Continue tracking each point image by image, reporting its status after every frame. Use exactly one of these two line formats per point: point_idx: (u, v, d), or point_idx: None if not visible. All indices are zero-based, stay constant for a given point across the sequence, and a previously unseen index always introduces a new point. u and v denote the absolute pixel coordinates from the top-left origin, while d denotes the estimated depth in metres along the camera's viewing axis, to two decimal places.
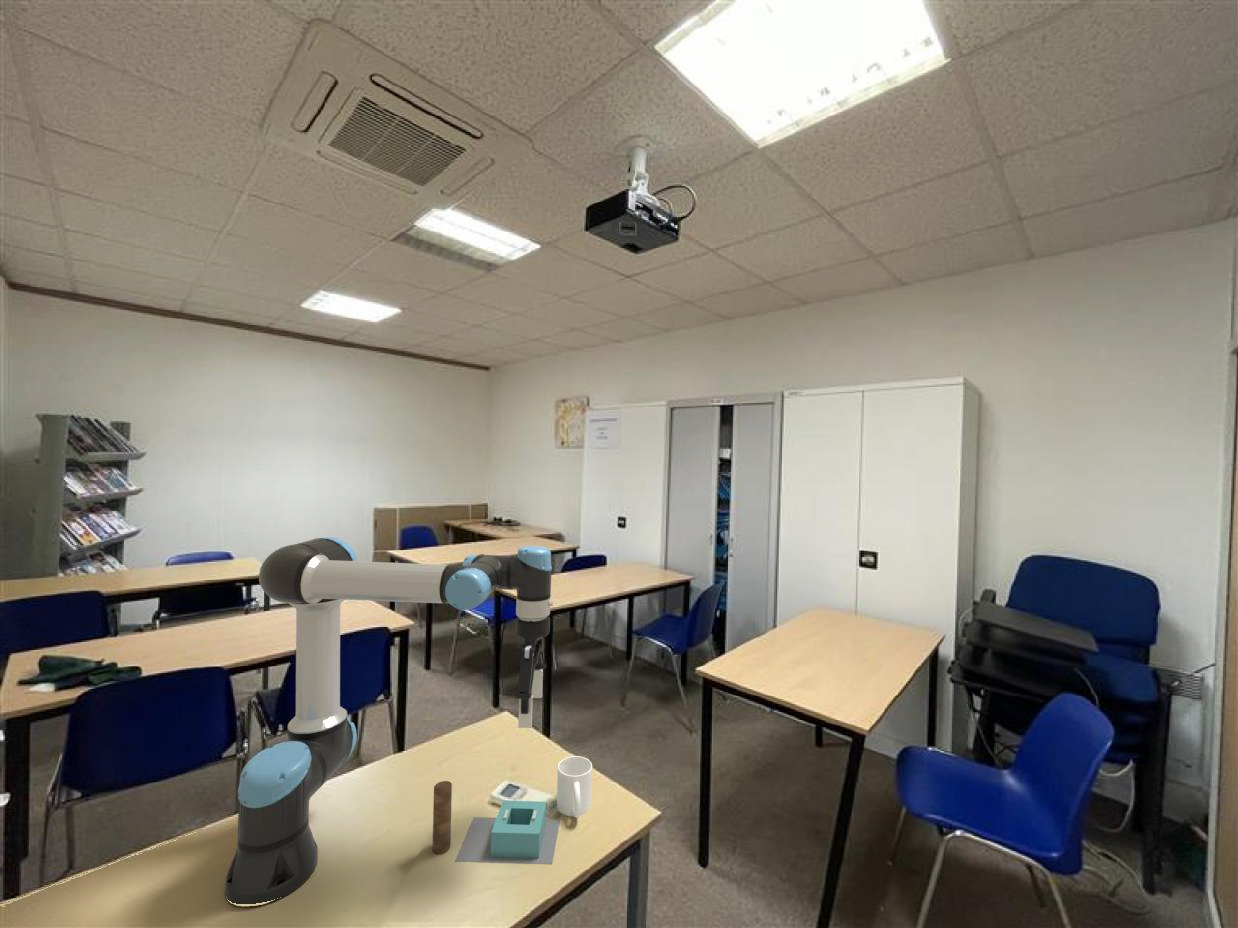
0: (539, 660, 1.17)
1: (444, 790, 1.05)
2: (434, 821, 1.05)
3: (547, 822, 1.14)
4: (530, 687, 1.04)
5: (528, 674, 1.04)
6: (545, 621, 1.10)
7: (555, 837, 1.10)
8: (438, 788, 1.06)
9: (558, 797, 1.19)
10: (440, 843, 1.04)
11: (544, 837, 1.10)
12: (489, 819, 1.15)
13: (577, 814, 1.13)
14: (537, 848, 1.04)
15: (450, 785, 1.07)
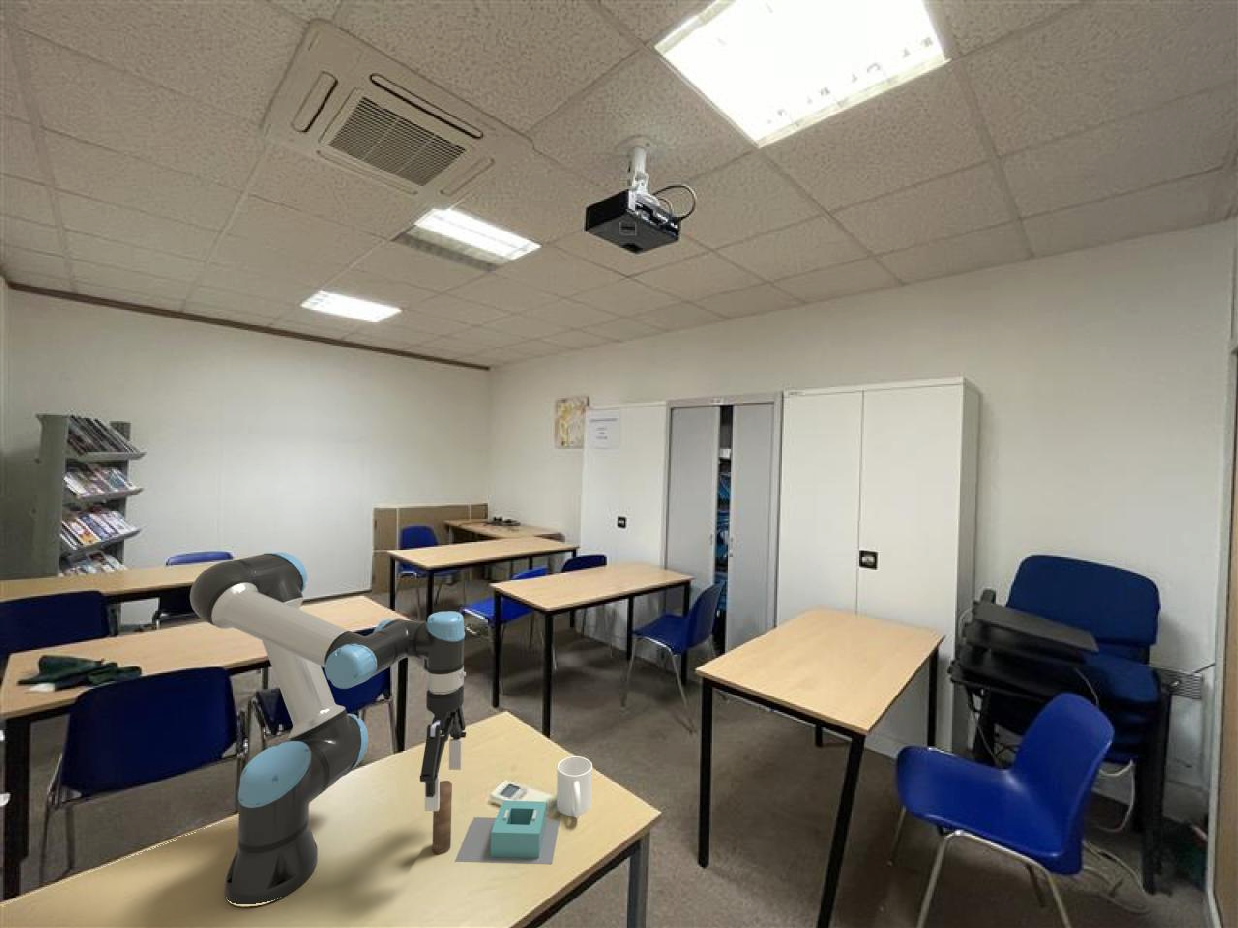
0: (456, 730, 1.11)
1: (444, 790, 1.05)
2: (434, 821, 1.05)
3: (547, 822, 1.14)
4: (435, 768, 0.98)
5: (433, 754, 0.98)
6: (456, 693, 1.05)
7: (555, 837, 1.10)
8: None
9: (558, 797, 1.19)
10: (440, 843, 1.04)
11: (544, 837, 1.10)
12: (489, 819, 1.15)
13: (577, 814, 1.13)
14: (537, 848, 1.04)
15: (450, 785, 1.07)
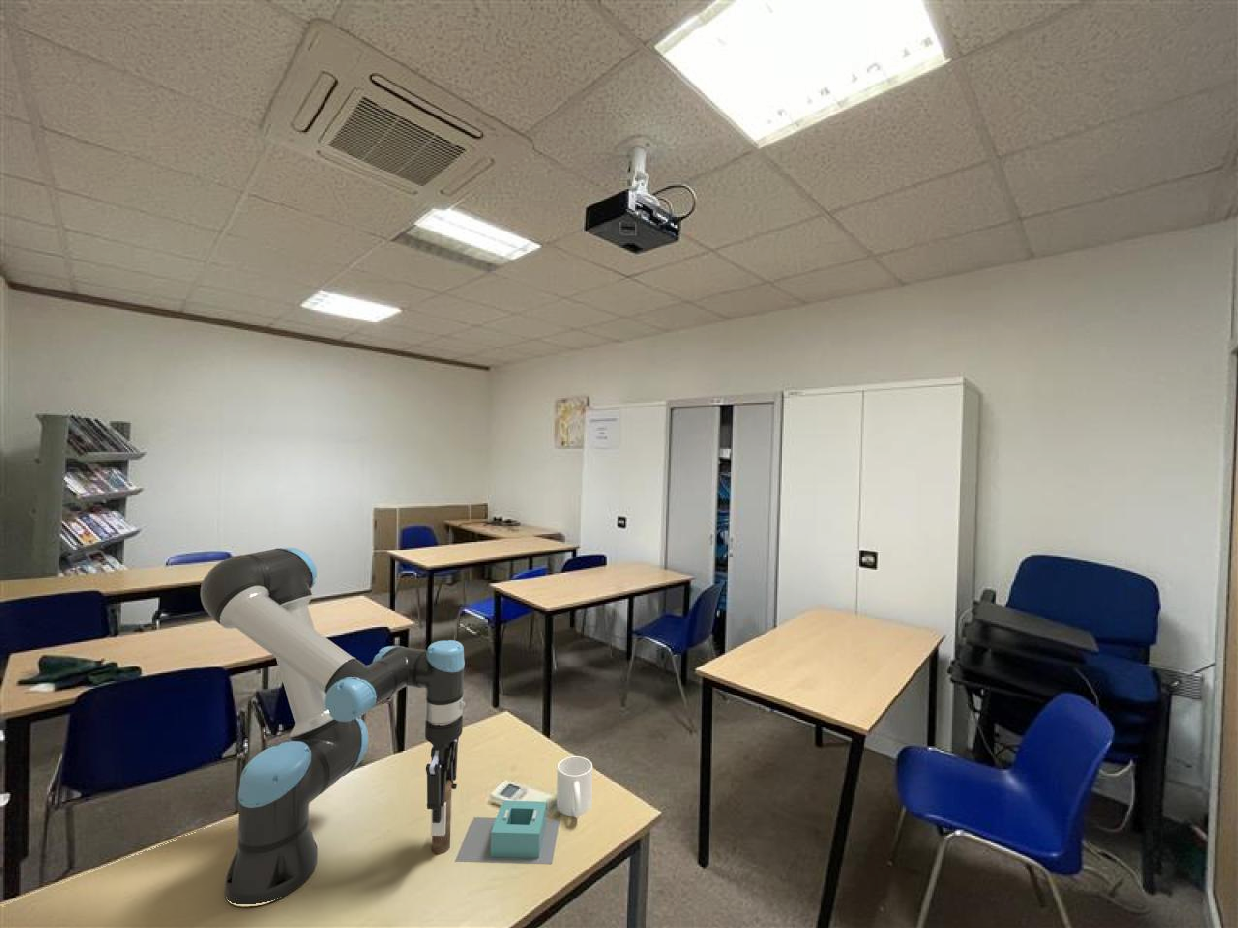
0: (449, 773, 1.08)
1: None
2: None
3: (547, 822, 1.14)
4: (440, 796, 1.02)
5: (435, 789, 1.01)
6: (455, 724, 1.04)
7: (555, 837, 1.10)
8: None
9: (558, 797, 1.19)
10: (440, 842, 1.05)
11: (544, 837, 1.10)
12: (489, 819, 1.15)
13: (577, 814, 1.13)
14: (537, 848, 1.04)
15: (450, 784, 1.07)
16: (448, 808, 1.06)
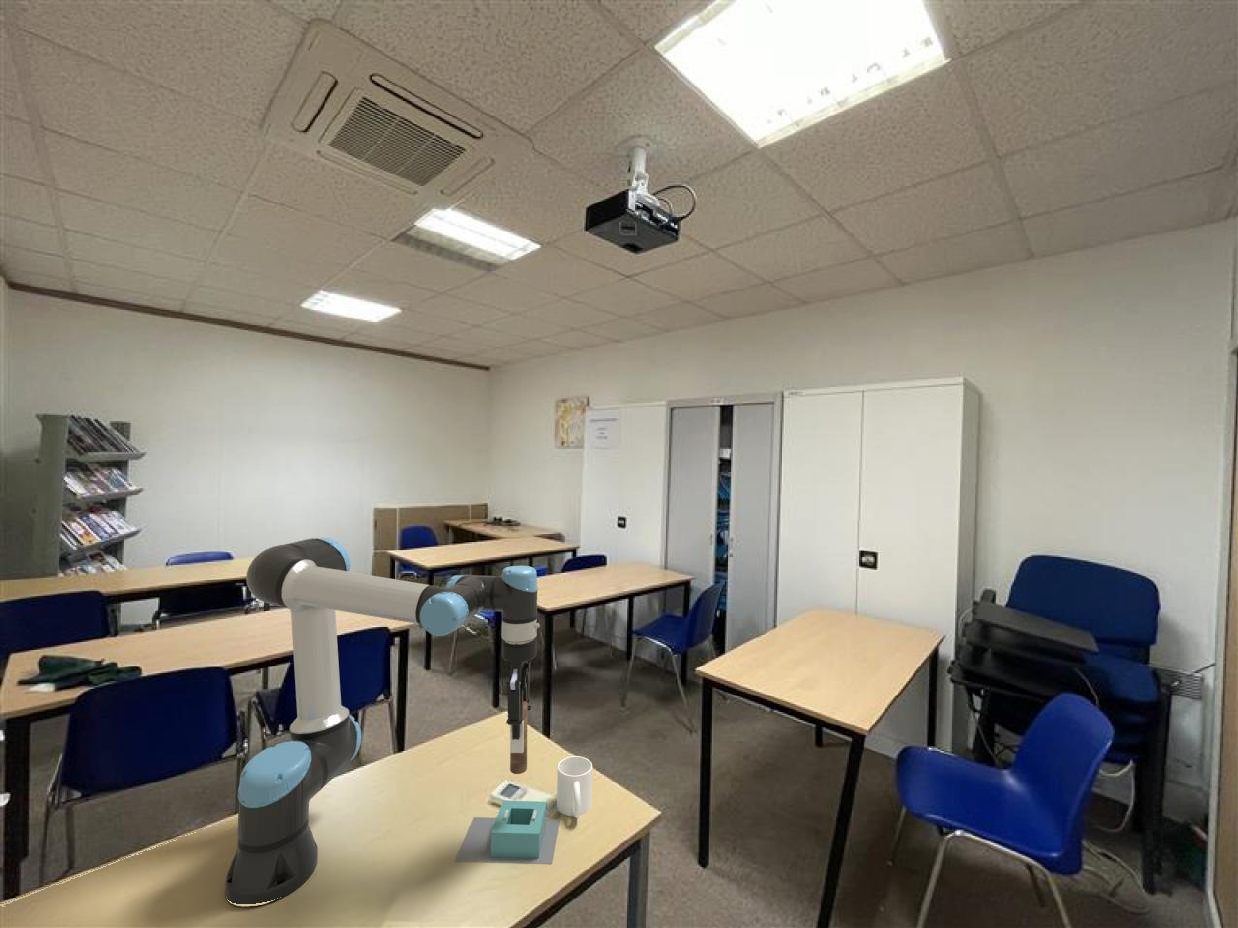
0: (524, 694, 1.11)
1: None
2: None
3: (547, 822, 1.14)
4: (520, 713, 1.05)
5: (516, 704, 1.03)
6: (531, 644, 1.07)
7: (555, 837, 1.10)
8: None
9: (558, 797, 1.19)
10: (519, 759, 1.07)
11: (544, 837, 1.10)
12: (489, 819, 1.15)
13: (577, 814, 1.13)
14: (537, 848, 1.04)
15: (526, 703, 1.09)
16: (525, 726, 1.08)
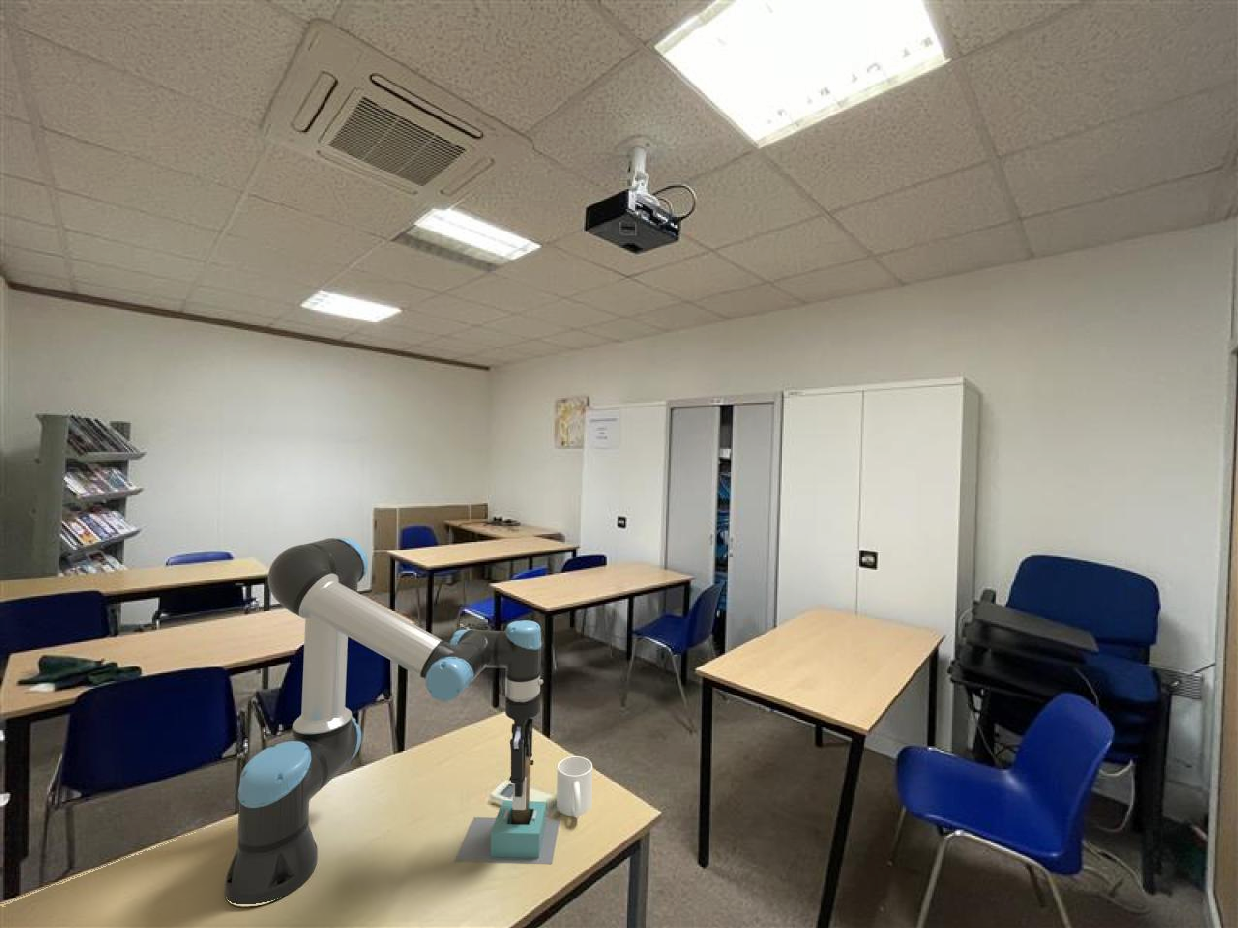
0: (527, 749, 1.11)
1: None
2: None
3: (547, 822, 1.14)
4: (523, 771, 1.05)
5: (519, 763, 1.04)
6: (535, 701, 1.07)
7: (555, 837, 1.10)
8: None
9: (558, 797, 1.19)
10: (521, 815, 1.07)
11: (544, 837, 1.10)
12: (489, 819, 1.15)
13: (577, 814, 1.13)
14: (537, 848, 1.04)
15: (529, 759, 1.09)
16: (528, 783, 1.08)
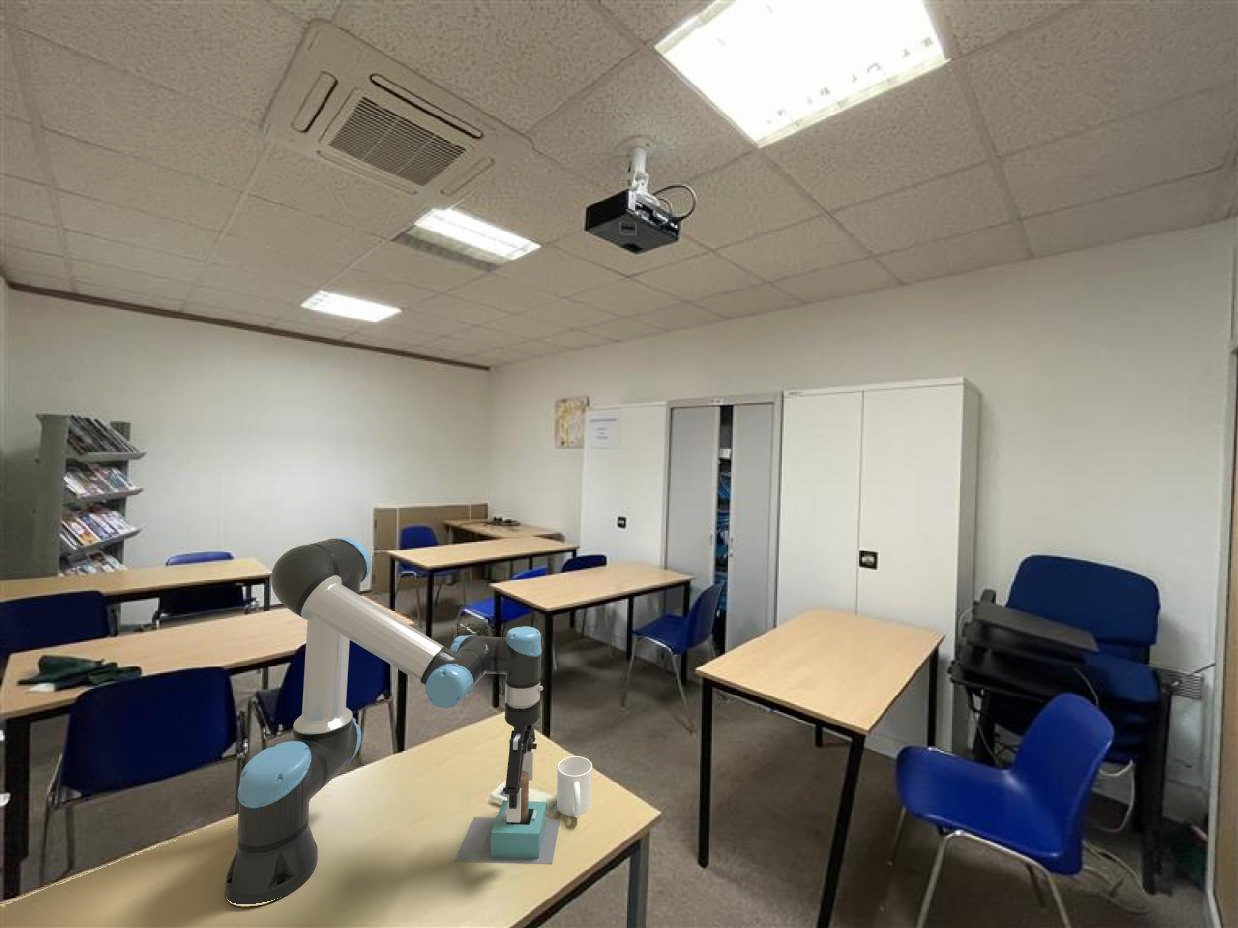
0: (529, 742, 1.14)
1: (522, 779, 1.07)
2: None
3: (547, 822, 1.14)
4: (518, 781, 1.01)
5: (516, 767, 1.01)
6: (535, 707, 1.07)
7: (555, 837, 1.10)
8: None
9: (558, 797, 1.19)
10: None
11: (544, 837, 1.10)
12: (489, 819, 1.15)
13: (577, 814, 1.13)
14: (537, 848, 1.04)
15: (527, 774, 1.09)
16: (527, 798, 1.08)
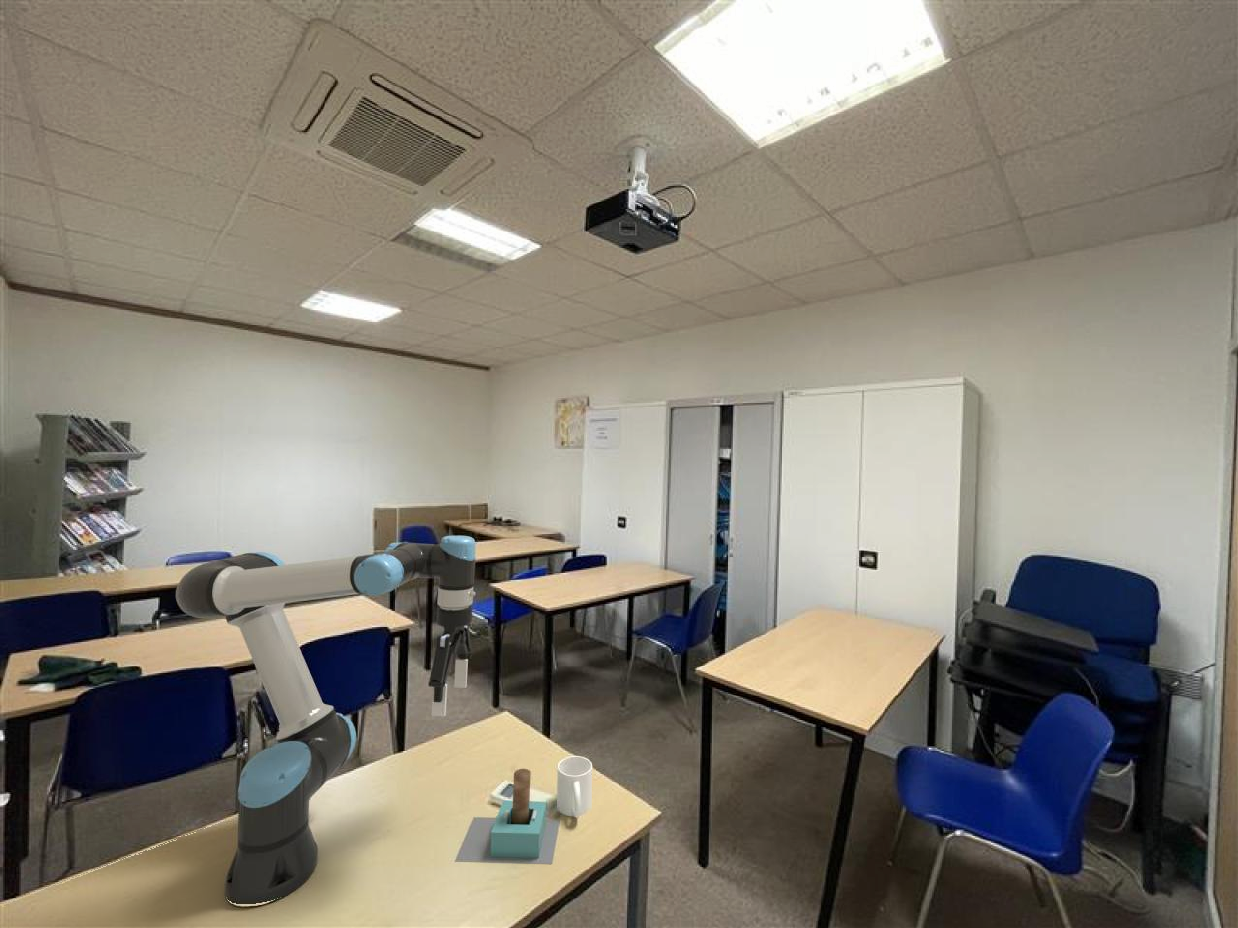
0: (463, 650, 1.17)
1: (524, 777, 1.08)
2: (514, 807, 1.08)
3: (547, 822, 1.14)
4: (443, 675, 1.04)
5: (441, 662, 1.04)
6: (465, 611, 1.11)
7: (555, 837, 1.10)
8: (518, 775, 1.09)
9: (558, 797, 1.19)
10: None
11: (544, 837, 1.10)
12: (489, 819, 1.15)
13: (577, 814, 1.13)
14: (537, 848, 1.04)
15: (529, 772, 1.10)
16: (528, 796, 1.09)
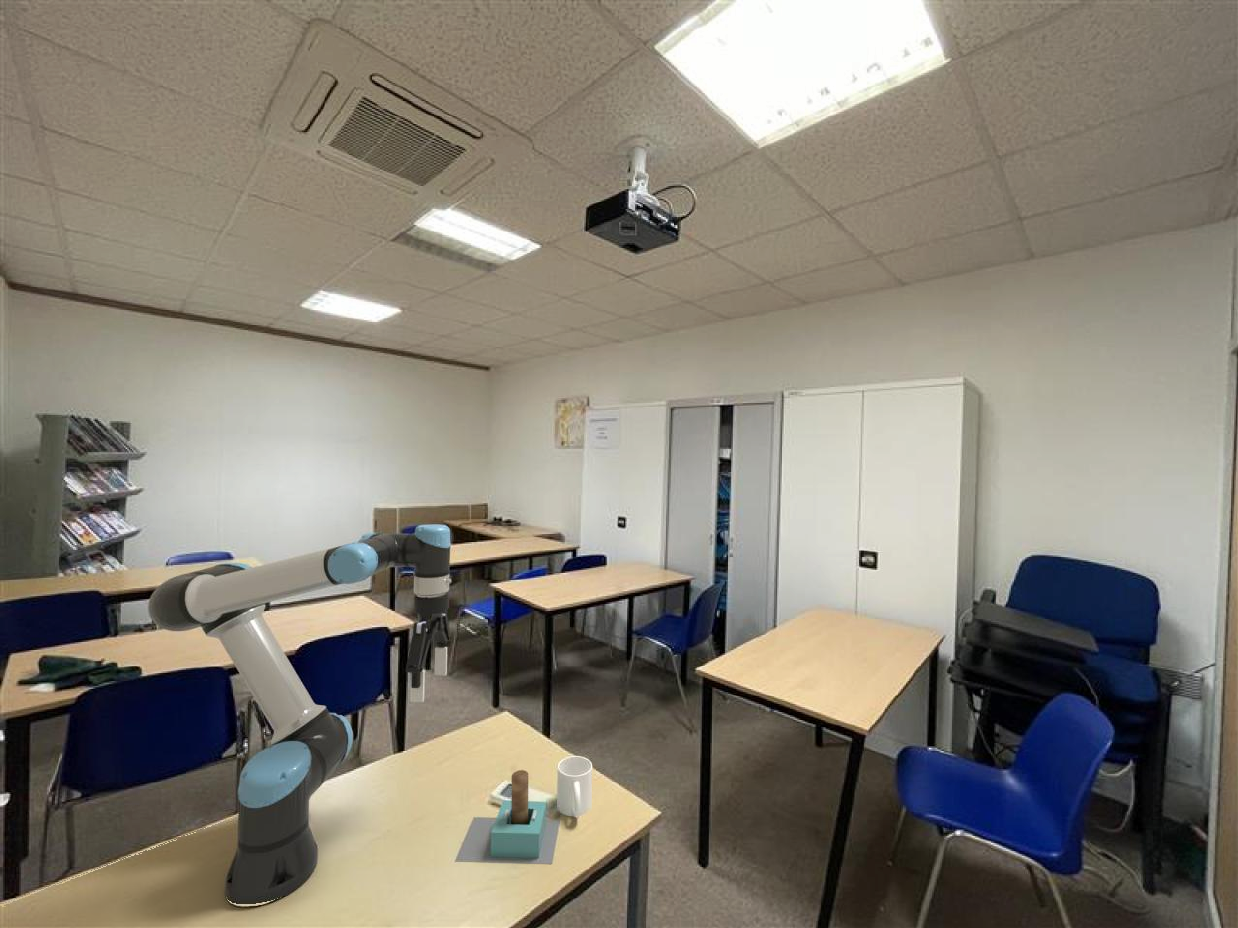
0: (442, 638, 1.19)
1: (522, 779, 1.08)
2: (512, 809, 1.08)
3: (547, 822, 1.14)
4: (420, 661, 1.05)
5: (418, 648, 1.05)
6: (441, 598, 1.12)
7: (555, 837, 1.10)
8: (516, 777, 1.08)
9: (558, 797, 1.19)
10: None
11: (544, 837, 1.10)
12: (489, 819, 1.15)
13: (577, 814, 1.13)
14: (537, 848, 1.04)
15: (527, 774, 1.09)
16: (526, 797, 1.08)
